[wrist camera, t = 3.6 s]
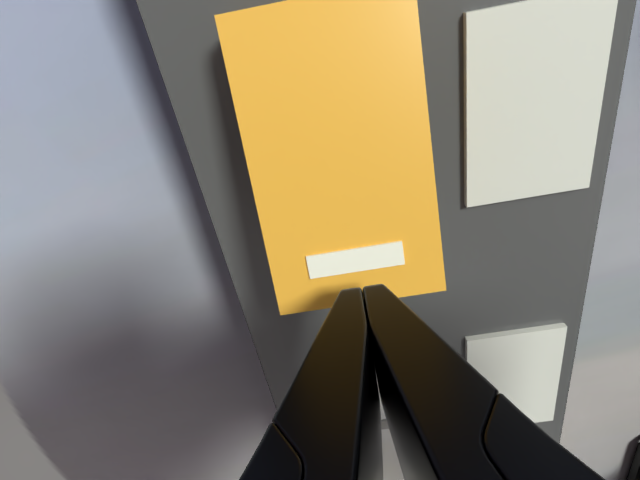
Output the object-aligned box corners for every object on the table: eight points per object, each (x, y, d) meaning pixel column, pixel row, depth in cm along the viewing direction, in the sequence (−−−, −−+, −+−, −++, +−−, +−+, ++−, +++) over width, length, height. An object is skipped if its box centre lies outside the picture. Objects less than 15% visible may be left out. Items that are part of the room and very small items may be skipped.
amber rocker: (435, 274, 10) (447, 291, 9) (285, 296, 10) (280, 316, 9) (404, -9, 8) (414, -28, 7) (227, 27, 8) (213, 14, 7)
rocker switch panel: (522, 397, 19) (563, 472, 16) (305, 425, 20) (304, 503, 17) (581, -219, 9) (716, -330, 6) (142, -117, 10) (65, -171, 7)
